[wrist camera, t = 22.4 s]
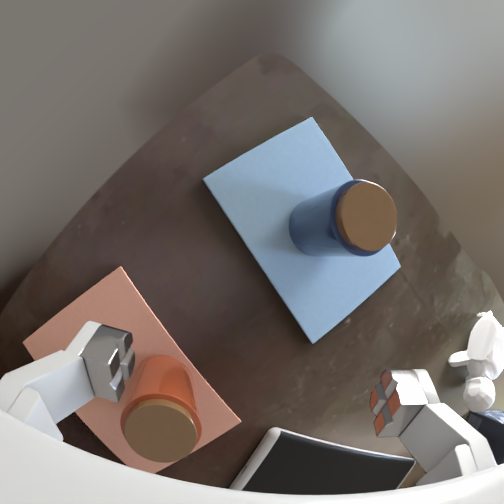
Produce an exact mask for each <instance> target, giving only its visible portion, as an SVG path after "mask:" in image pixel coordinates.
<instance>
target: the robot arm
mask: <svg viewBox="0 0 504 504" xmlns="http://www.w3.org/2000/svg"><path fill="white" fill-rule="evenodd" d="M132 343H133V336H132V333H131V332H129V331H125V330H122V329H118V328H115V327H111V326H108V325H104V324H100V323H97V322H93V321H88V322H86V323H85V324H84V326H83V327H82V328H81V330H80V331H79V332H78V334H77V335H76V336H75V338H74V339H73V340H72V342H71V343H70V344H69V346H68V347H67V349H66V350H65V351H62V350H60V351H58V352H55V353H53V354H51V355H48V356H46V357H44V358H41V359H39V360H37V361H34V362H32V363H30V364H27V365H25V366H23V367H20V368H18V369H16V370H13V371H11V372H9V373H6V374H5V375H4V376H3V377H2V379H1V380H0V504H504V463H503V464H501V465H498V466H497V464H496V462H495V459H494V456H493V454H492V451H491V449H490V446H489V444H488V441H487V439H486V438H485V437H484V436H483V435H481V434H480V433H479V432H478V431H477V430H475V429H474V428H473V427H472V426H471V425H470V424H468V423H467V422H466V421H465V420H464V419H462V418H461V417H460V416H459V415H458V414H456V413H455V412H454V411H453V410H452V409H450V408H449V407H448V406H447V405H446V404H444V403H440V400H439V398H438V395H437V393H436V391H435V388H434V386H433V384H432V381H431V379H430V377H429V374H428V372H427V371H426V370H425V369H412V370H411V369H386V370H384V371H383V373H382V374H381V376H380V378H381V382H380V383H378V384H377V385H375V387H374V389H373V390H372V392H371V397H370V408H371V412H372V413H373V414H374V415H375V416H376V419H375V420H374V426H375V431H376V435H377V437H399V440H400V441H401V442H402V443H403V444H404V446H405V447H406V448H407V449H408V451H409V452H410V453H411V454H412V455H413V457H414V458H415V459H416V460H417V462H418V463H419V464H420V465H421V466H422V468H423V469H424V470H425V471H426V472H427V474H425V475H424V476H423V477H422V478H421V479H420V480H418V482H417V483H416V487H410V488H403V489H396V490H389V491H380V492H370V493H358V494H341V495H289V494H271V493H259V492H249V491H240V490H232V489H225V488H218V487H212V486H206V485H201V484H196V483H190V482H186V481H181V480H176V479H172V478H168V477H164V476H160V475H156V474H152V473H149V472H145V471H141V470H138V469H135V468H131V467H128V466H125V465H122V464H119V463H116V462H113V461H110V460H107V459H104V458H101V457H99V456H96V455H93V454H91V453H88V452H86V451H83V450H81V449H78V448H76V447H73V446H71V445H69V444H66V443H64V442H62V441H63V436H62V434H61V433H60V431H59V429H58V428H57V426H56V423H58V422H59V421H61V420H62V419H64V418H65V417H67V416H68V415H70V414H71V413H73V412H74V411H76V410H77V409H79V408H80V407H81V406H83V405H84V404H86V403H87V402H89V401H90V400H92V399H93V398H95V396H96V397H99V398H103V399H106V400H109V401H113V402H116V403H118V402H119V400H120V398H121V396H122V394H123V392H124V390H125V384H124V381H126V380H128V379H129V378H130V377H131V375H132V373H133V369H134V365H135V351H134V350H133V349H132V348H131V345H132Z"/></svg>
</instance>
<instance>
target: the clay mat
mask: <svg viewBox="0 0 504 504" xmlns="http://www.w3.org/2000/svg"><path fill="white" fill-rule="evenodd" d="M88 321H93V322H97V323H100V324H104V325H108V326H111V327H115V328H118V329H122V330H125V331H129V332H131V333H132V336H133V343H132V345H131V348H132V349H133V350H134V351H135V365H134V369H133V373H132V375H131V377H130V378H129V379H128V380H126V381H124V384H125V390H124V392H123V394H122V396H121V398H120V400H119V402H118V403H116V402H113V401H109V400H106V399H103V398H99V397H96V396H95V398H93V399H92V400H90V401H89V402H87V403H86V404H84V405H83V406H81V407H80V408H79V409H77V410H76V411H74V412H75V413H76V414H77V415H78V416H79V417H80V418H81V420H82V421H83V422H84V423H85V424H86V425H87V426H88V427H89V428H90V429H91V430H92V432H93V433H94V434H95V435H96V436H97V437H98V438H99V439H100V440H101V441H102V442H103V443H104V444H105V445H106V446H107V447H108V448H109V449H110V450H111V451H112V452H113V453H114V454H115V455H116V456H117V457H118V458H120V459H121V460H122V461H123V462H124V463H125V464H126V465H127V466H128V467H131V468H135V469H138V470H141V471H145V472H149V473H152V474H154V473H156V472H158V471H160V470H162V469H164V468H165V467H167V466H169V465H171V464H173V463H175V462H176V461H175V462H168V463H161V462H154V461H151V460H148V459H145V458H143V457H142V456H140V455H138V454H137V453H136V452H135V451H134V450H133V449H132V448H131V447H130V446H129V444H128V443H127V441H126V439H125V437H124V435H123V433H122V430H121V426H120V419H121V414H122V411H123V408H124V405H125V401H126V398H127V395H128V392H129V389H130V386H131V383H132V380H133V377H134V374H135V371H136V369H137V367H138V366H139V365H140V364H141V363H142V362H143V361H144V360H146V359H148V358H150V357H153V356H158V355H165V356H170V357H173V358H176V359H178V360H180V361H181V362H182V363H184V364H185V365H186V366H187V367H188V369H189V370H190V372H191V374H192V376H193V380H194V386H195V392H196V398H197V403H198V409H199V414H200V420H201V425H202V434H201V438H200V440H199V442H198V444H197V445H196V446H195V448H194V449H193V450H192V452H194V451H196V450H197V449H199V448H201V447H202V446H204V445H206V444H207V443H209V442H211V441H212V440H214V439H216V438H217V437H219V436H220V435H222V434H223V433H225V432H227V431H228V430H230V429H231V428H233V427H234V426H236V425H237V424H239V423H240V422H241V420H240V419H239V418H238V417H237V416H236V415H235V414H234V412H233V411H232V410H231V409H230V408H229V407H228V406H227V405H226V403H225V402H224V401H223V400H222V399H221V398H220V397H219V395H218V394H217V393H216V392H215V391H214V390H213V388H212V387H211V386H210V385H209V384H208V383H207V381H206V380H205V379H204V378H203V377H202V375H201V374H200V373H199V372H198V370H197V369H196V368H195V367H194V366H193V364H192V363H191V362H190V361H189V359H188V358H187V357H186V356H185V354H184V353H183V352H182V350H181V349H180V348H179V347H178V345H177V344H176V343H175V341H174V340H173V339H172V337H171V336H170V335H169V334H168V332H167V331H166V330H165V328H164V327H163V325H162V324H161V323H160V321H159V320H158V319H157V317H156V316H155V315H154V313H153V312H152V310H151V309H150V308H149V306H148V305H147V303H146V302H145V301H144V299H143V298H142V296H141V295H140V293H139V292H138V290H137V289H136V288H135V286H134V285H133V283H132V282H131V280H130V279H129V277H128V276H127V274H126V273H125V271H124V270H123V268H122V267H121V266H120V267H119V268H117V269H116V270H115V271H113V272H112V273H110V274H109V275H108V276H106V277H105V278H104V279H102V280H101V281H100V282H98V283H97V284H96V285H94V286H93V287H92V288H90V289H89V290H88V291H86V292H85V293H84V294H82V295H81V296H80V297H78V298H77V299H76V300H75V301H73V302H72V303H71V304H69V305H68V306H67V307H65V308H64V309H63V310H62V311H60V312H59V313H58V314H57V315H55V316H54V317H53V318H52V319H50V320H49V321H48V322H47V323H45V324H44V325H43V326H42V327H40V328H39V329H38V330H37V331H35V332H34V333H33V334H32V335H31V336H29V337H28V338H27V339H26V340H25V341H23V344H24V345H25V347H26V348H27V350H28V351H29V353H30V354H31V356H32V357H33V359H34V360H35V361H37V360H39V359H41V358H44V357H46V356H48V355H51V354H53V353H55V352H58V351H60V350H62V351H65V350H66V349H67V347H68V346H69V344H70V343H71V342H72V340H73V339H74V338H75V336H76V335H77V334H78V332H79V331H80V330H81V328H82V327H83V326H84V324H85V323H86V322H88ZM192 452H191V453H192ZM191 453H190V454H191Z"/></svg>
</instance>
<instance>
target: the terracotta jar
mask: <svg viewBox="0 0 504 504" xmlns="http://www.w3.org/2000/svg"><path fill="white" fill-rule="evenodd" d="M120 426H121V430H122V433H123V435H124V437H125V439H126V441H127V443H128V444H129V446H130V447H131V448H132V449H133V450H134V451H135V452H136V453H137V454H138V455H140V456H142V457H143V458H145V459H148V460H151V461H154V462H161V463H168V462H175V461H178V460H181V459H183V458H184V457H186V456H187V455H189V454H190V453H191V452H192V450H193V449H194V448H195V446H196V445H197V444H198V442H199V440H200V438H201V434H202V425H201V420H200V414H199V409H198V403H197V398H196V392H195V386H194V380H193V376H192V374H191V372H190V370H189V369H188V367H187V366H186V365H185V364H184V363H182V362H181V361H180V360H178V359H176V358H173V357H170V356H165V355H158V356H153V357H150V358H148V359H146V360H144V361H143V362H142V363H141V364H140V365H139V366H138V367H137V369H136V371H135V374H134V377H133V380H132V383H131V386H130V389H129V392H128V395H127V398H126V401H125V405H124V408H123V411H122V414H121V419H120Z"/></svg>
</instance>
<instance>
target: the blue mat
mask: <svg viewBox="0 0 504 504" xmlns="http://www.w3.org/2000/svg"><path fill="white" fill-rule="evenodd" d="M351 180H353V179H352V177H351V175H350V174H349V172H348V171H347V169H346V167H345V166H344V164H343V163H342V161H341V160H340V158H339V156H338V155H337V153H336V152H335V150H334V149H333V147H332V146H331V144H330V143H329V141H328V140H327V138H326V137H325V135H324V134H323V132H322V131H321V129H320V128H319V126H318V125H317V124H316V122H315V121H314V119H313V118H312V117H311V118H309V119H307V120H305V121H303V122H301V123H299V124H297V125H295V126H293V127H292V128H290V129H288V130H286V131H284V132H282V133H280V134H279V135H277V136H275V137H273V138H271V139H269V140H268V141H266V142H264V143H262V144H261V145H259V146H257V147H255V148H253V149H252V150H250V151H248V152H246V153H245V154H243V155H241V156H240V157H238V158H236V159H234V160H233V161H231V162H229V163H228V164H226V165H224V166H223V167H221V168H219V169H218V170H216V171H214V172H213V173H211V174H210V175H208V176H206V177H205V178H203V181H204V183H205V184H206V186H207V187H208V189H209V190H210V192H211V193H212V195H213V196H214V198H215V199H216V201H217V202H218V204H219V205H220V207H221V208H222V210H223V211H224V213H225V214H226V216H227V217H228V219H229V220H230V222H231V223H232V225H233V226H234V228H235V229H236V231H237V232H238V234H239V235H240V237H241V238H242V240H243V241H244V243H245V244H246V246H247V247H248V249H249V250H250V252H251V253H252V255H253V256H254V258H255V259H256V261H257V262H258V264H259V265H260V267H261V268H262V270H263V271H264V273H265V274H266V276H267V277H268V279H269V280H270V282H271V283H272V285H273V286H274V288H275V289H276V291H277V292H278V294H279V295H280V297H281V298H282V300H283V301H284V303H285V304H286V306H287V307H288V309H289V310H290V312H291V313H292V315H293V316H294V318H295V319H296V321H297V322H298V324H299V325H300V327H301V328H302V330H303V331H304V333H305V334H306V336H307V337H308V339H309V340H310V342H311V343H312V344H313V343H315V342H316V341H317V340H318V339H320V338H321V337H322V336H323V335H325V334H326V333H327V332H328V331H329V330H331V329H332V328H333V327H334V326H335V325H337V324H338V323H339V322H340V321H341V320H343V319H344V318H345V317H346V316H347V315H348V314H350V313H351V312H352V311H353V310H354V309H355V308H356V307H358V306H359V305H360V304H361V303H362V302H363V301H364V300H365V299H367V298H368V297H369V296H370V295H371V294H372V293H373V292H374V291H375V290H376V289H378V288H379V287H380V286H381V285H382V284H383V283H384V282H385V281H386V280H387V279H388V278H389V277H390V276H391V275H393V274H394V273H395V272H396V271H397V270H398V269H399V268H400V267H401V266H400V264H399V262H398V260H397V258H396V256H395V254H394V252H393V250H392V248H391V246H390V244H389V243H388V244H387V245H386V246H385V247H384V248H383V249H382V250H381V251H379V252H378V253H376V254H374V255H372V256H367V257H313V256H308V255H306V254H304V253H302V252H301V251H300V250H299V249H298V248H297V247H296V246H295V245H294V243H293V241H292V239H291V237H290V233H289V219H290V216H291V213H292V211H293V210H294V208H295V207H296V206H297V205H298V204H299V203H300V202H302V201H304V200H306V199H308V198H311V197H313V196H315V195H318V194H320V193H322V192H325V191H327V190H329V189H332V188H334V187H336V186H339V185H341V184H343V183H346V182H348V181H351Z"/></svg>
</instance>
